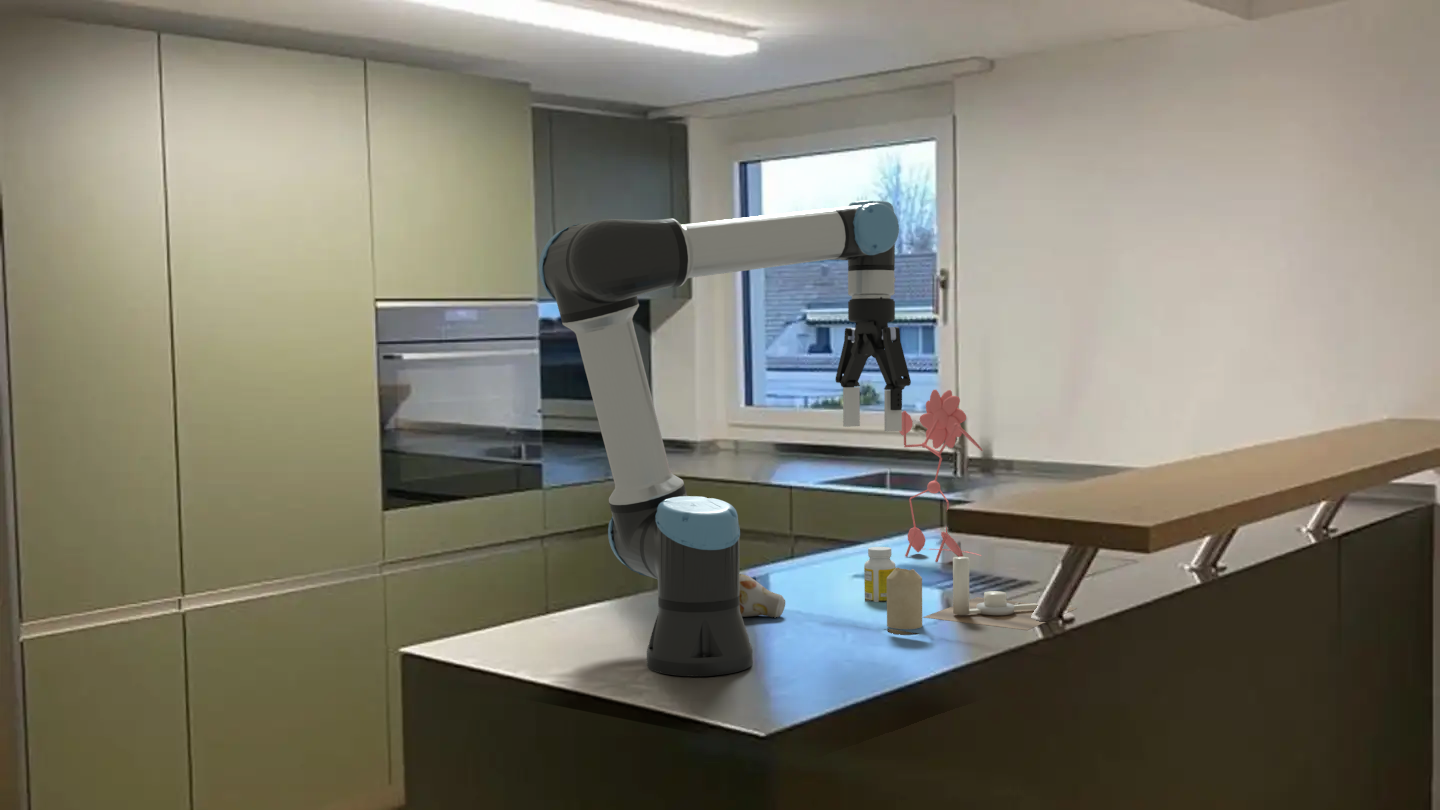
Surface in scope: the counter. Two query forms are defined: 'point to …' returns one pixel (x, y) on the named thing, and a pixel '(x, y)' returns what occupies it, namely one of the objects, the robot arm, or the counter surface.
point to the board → (992, 616)
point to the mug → (758, 599)
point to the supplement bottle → (877, 573)
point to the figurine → (937, 453)
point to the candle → (904, 601)
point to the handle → (992, 600)
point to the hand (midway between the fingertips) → (871, 428)
